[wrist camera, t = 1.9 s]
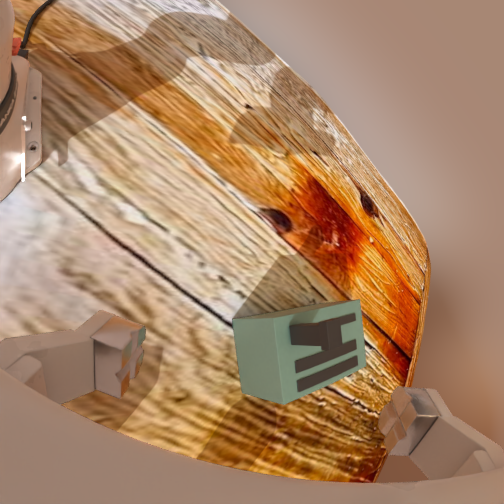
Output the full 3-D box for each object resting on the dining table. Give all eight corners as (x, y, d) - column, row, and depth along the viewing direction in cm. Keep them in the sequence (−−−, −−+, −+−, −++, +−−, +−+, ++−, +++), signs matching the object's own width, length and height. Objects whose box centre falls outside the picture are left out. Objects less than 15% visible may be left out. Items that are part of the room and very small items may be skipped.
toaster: (231, 318, 43) (274, 317, 36) (318, 303, 54) (361, 299, 47) (241, 392, 42) (284, 405, 35) (324, 363, 53) (367, 366, 45)
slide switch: (287, 322, 37) (326, 321, 32) (301, 319, 38) (340, 317, 33) (290, 348, 37) (329, 350, 32) (304, 344, 38) (343, 345, 33)
